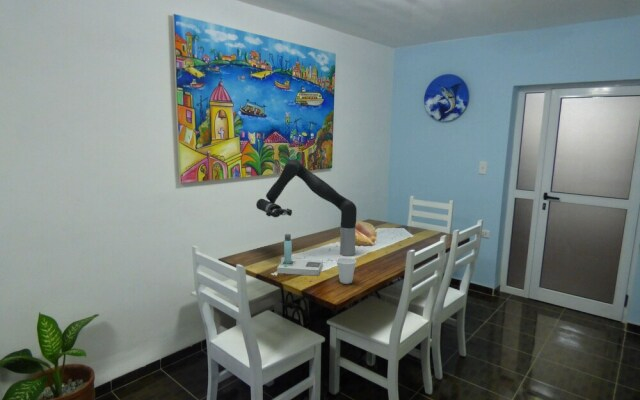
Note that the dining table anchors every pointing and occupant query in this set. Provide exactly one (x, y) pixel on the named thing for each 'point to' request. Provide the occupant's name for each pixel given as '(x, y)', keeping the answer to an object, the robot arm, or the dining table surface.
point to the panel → (301, 267)
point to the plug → (287, 249)
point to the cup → (346, 269)
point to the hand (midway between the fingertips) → (283, 214)
